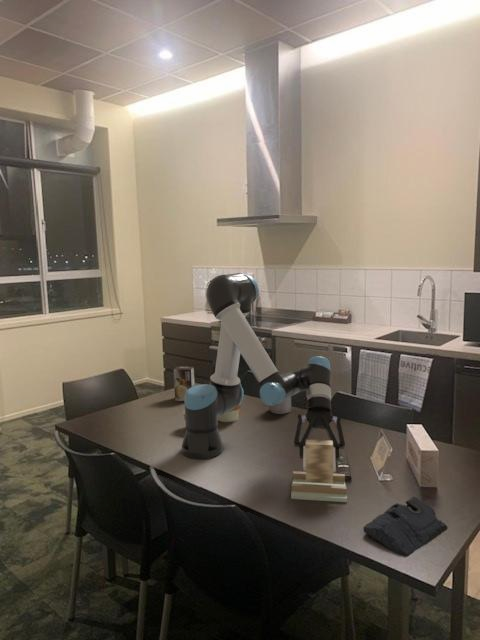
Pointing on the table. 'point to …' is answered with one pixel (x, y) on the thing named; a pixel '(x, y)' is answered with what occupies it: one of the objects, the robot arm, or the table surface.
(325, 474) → the tan upright rectangular block
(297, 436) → the robot arm
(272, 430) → the table surface
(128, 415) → the table surface
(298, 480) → the groove board
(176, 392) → the coffee box
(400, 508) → the folded dark sweater
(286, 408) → the grey tin can
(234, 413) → the reusable coffee cup
